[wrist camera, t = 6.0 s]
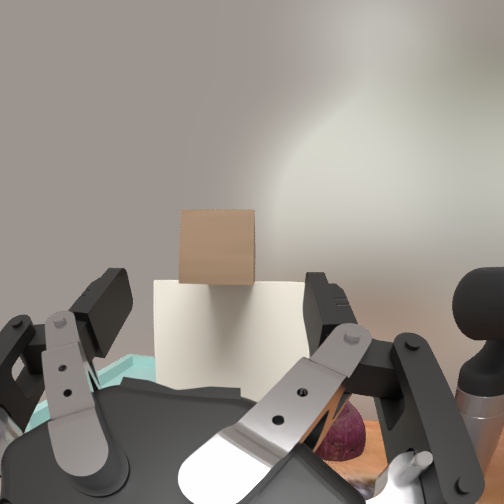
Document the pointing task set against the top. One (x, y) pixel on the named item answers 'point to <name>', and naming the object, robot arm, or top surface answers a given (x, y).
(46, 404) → the teal tray
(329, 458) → the vegetable
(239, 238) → the tan block
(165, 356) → the cream box stand
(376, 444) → the top surface
